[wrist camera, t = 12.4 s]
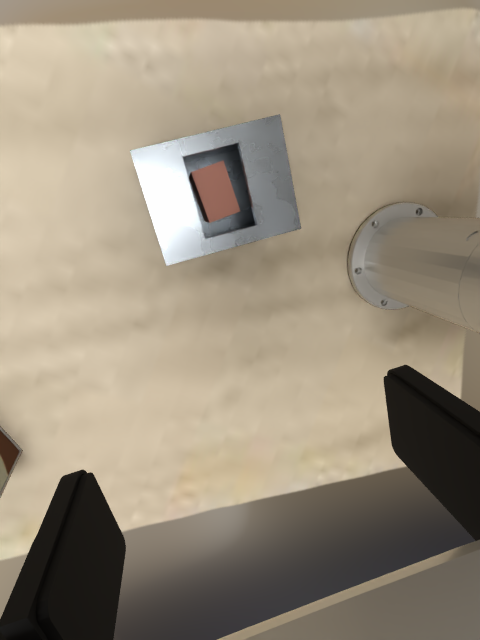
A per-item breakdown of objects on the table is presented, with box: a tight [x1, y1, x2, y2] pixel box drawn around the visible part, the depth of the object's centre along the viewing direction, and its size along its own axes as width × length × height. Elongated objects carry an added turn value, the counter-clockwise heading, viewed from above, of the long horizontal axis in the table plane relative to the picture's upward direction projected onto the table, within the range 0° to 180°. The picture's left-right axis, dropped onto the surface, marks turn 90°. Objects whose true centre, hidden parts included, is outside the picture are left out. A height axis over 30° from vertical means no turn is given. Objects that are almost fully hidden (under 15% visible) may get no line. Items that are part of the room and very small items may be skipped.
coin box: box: [130, 114, 301, 266], centre depth 33 cm, size 12×9×9 cm
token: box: [189, 161, 240, 223], centre depth 34 cm, size 3×4×6 cm, turn 19°
